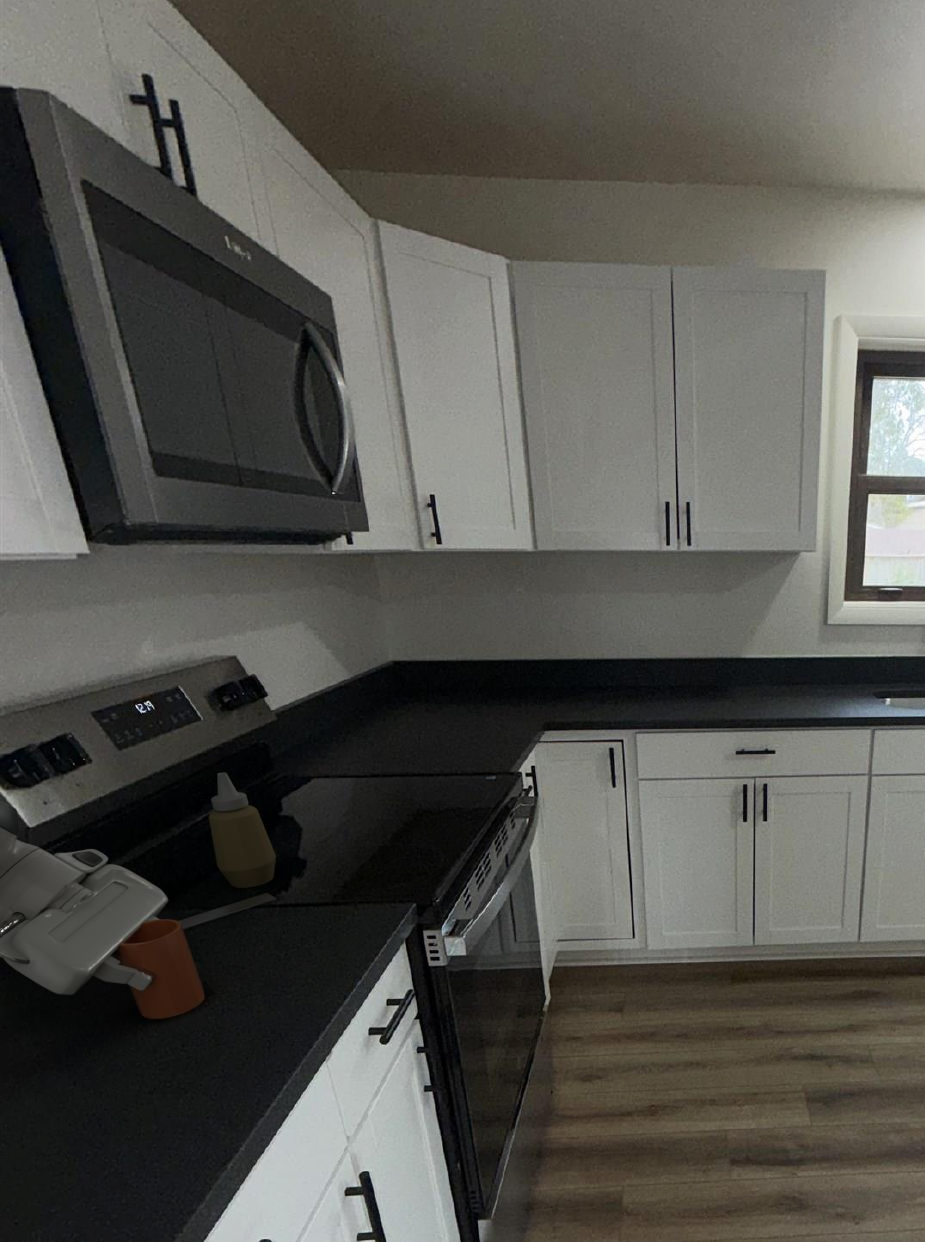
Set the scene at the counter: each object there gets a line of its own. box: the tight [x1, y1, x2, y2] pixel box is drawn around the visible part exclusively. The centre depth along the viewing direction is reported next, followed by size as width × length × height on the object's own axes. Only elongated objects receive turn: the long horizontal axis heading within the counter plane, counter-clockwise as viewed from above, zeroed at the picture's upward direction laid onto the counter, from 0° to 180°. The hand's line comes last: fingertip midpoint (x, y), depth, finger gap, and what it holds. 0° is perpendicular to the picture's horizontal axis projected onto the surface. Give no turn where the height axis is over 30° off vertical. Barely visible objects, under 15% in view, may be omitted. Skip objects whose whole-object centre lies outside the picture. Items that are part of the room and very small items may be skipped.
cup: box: [116, 918, 206, 1020], centre depth 92 cm, size 6×6×10 cm
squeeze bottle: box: [208, 771, 277, 889], centre depth 123 cm, size 8×8×18 cm
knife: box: [177, 892, 277, 931], centre depth 113 cm, size 24×3×2 cm, turn 142°
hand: (166, 965), depth 92 cm, fingers closed on cup, 6 cm apart
